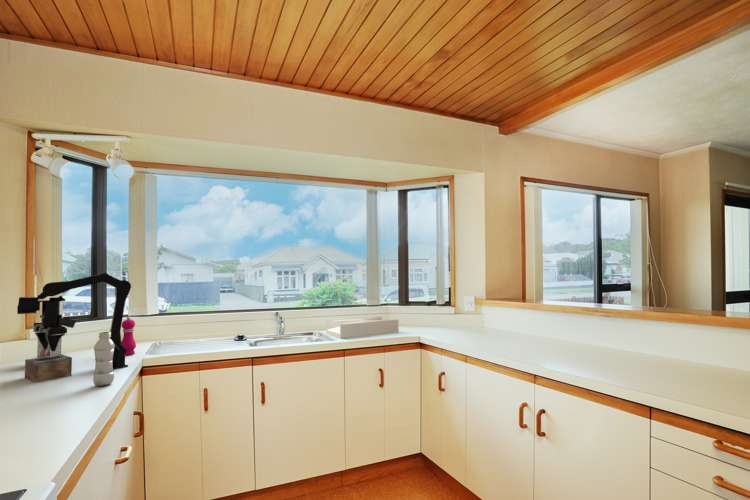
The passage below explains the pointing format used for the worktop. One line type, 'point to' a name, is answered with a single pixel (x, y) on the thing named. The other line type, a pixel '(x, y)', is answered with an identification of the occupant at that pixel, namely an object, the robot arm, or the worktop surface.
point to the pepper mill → (128, 336)
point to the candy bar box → (48, 350)
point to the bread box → (361, 327)
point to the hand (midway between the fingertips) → (49, 350)
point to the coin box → (48, 368)
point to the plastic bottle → (104, 360)
